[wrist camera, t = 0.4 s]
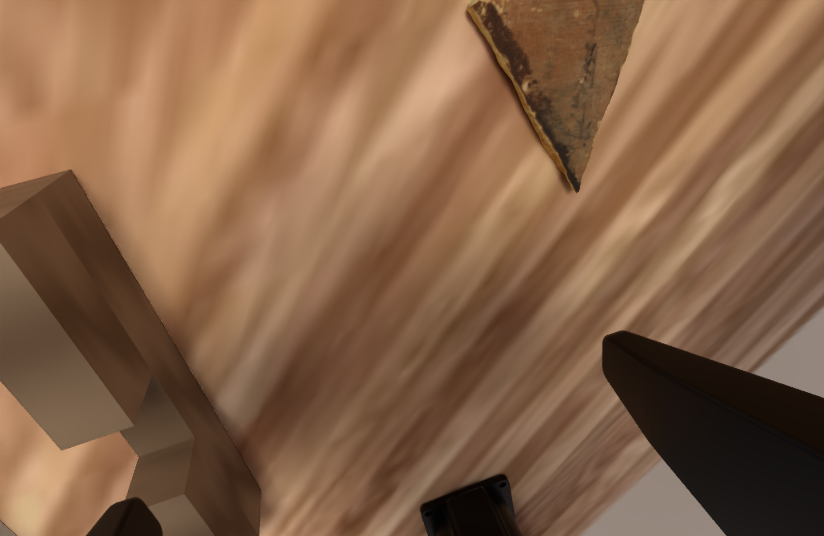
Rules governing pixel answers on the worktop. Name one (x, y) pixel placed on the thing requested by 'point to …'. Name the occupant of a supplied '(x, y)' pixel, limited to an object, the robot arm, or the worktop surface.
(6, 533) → the slotted top plate
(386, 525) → the worktop surface
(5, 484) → the worktop surface
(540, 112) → the shard
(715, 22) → the worktop surface
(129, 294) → the slotted base plate
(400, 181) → the worktop surface
